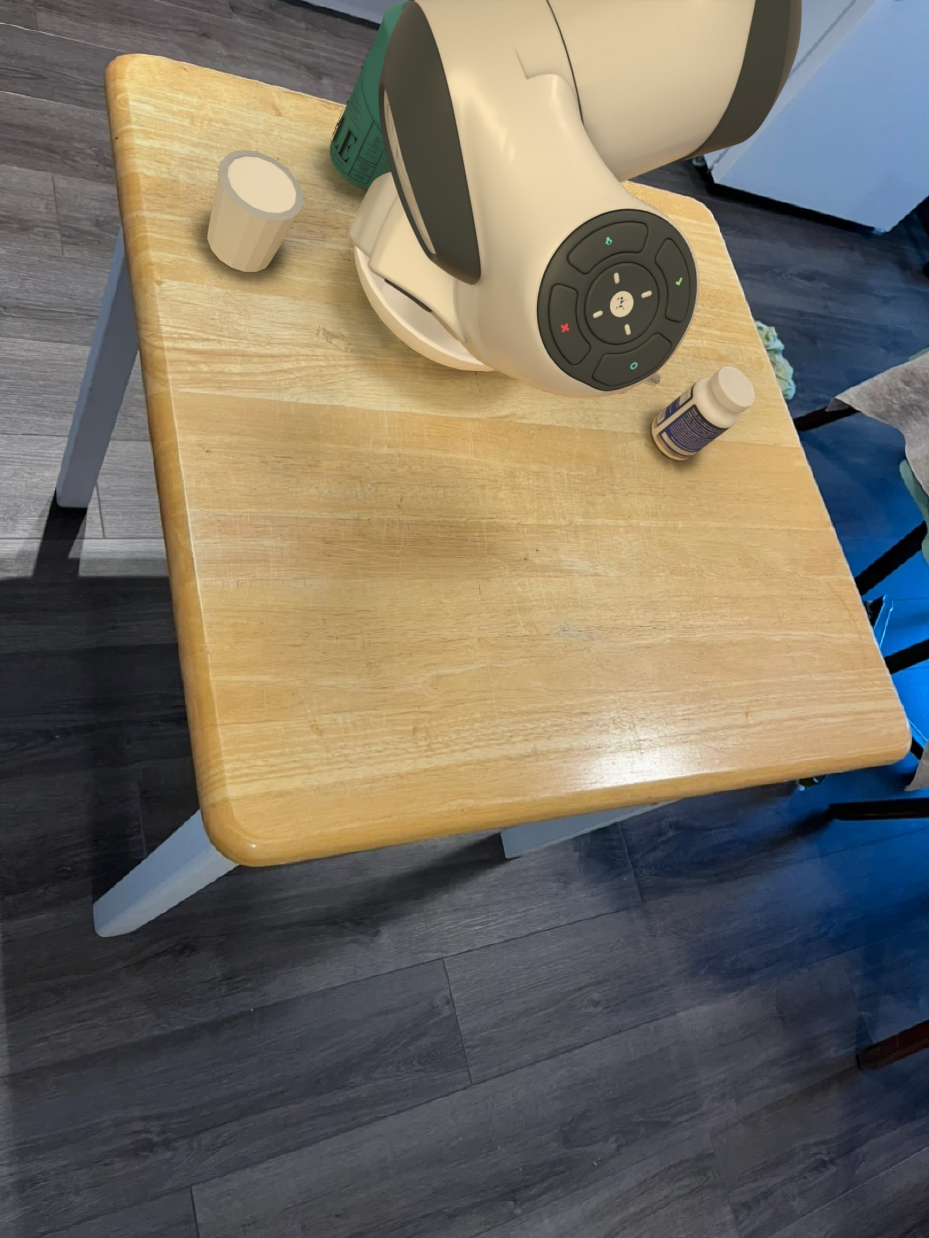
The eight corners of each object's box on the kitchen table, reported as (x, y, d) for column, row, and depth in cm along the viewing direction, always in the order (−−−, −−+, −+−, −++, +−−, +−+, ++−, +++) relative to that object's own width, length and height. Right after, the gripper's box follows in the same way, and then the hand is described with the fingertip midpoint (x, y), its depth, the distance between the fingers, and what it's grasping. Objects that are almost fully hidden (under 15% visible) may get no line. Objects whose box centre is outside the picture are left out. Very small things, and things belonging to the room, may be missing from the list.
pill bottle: (698, 462, 94) (767, 412, 86) (659, 462, 91) (726, 410, 83) (681, 416, 96) (748, 362, 87) (642, 414, 93) (707, 358, 84)
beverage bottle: (397, 193, 87) (496, 8, 70) (351, 211, 83) (444, 21, 67) (354, 141, 87) (444, -57, 70) (306, 157, 83) (389, -48, 66)
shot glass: (294, 255, 78) (320, 197, 72) (246, 291, 74) (270, 233, 68) (234, 200, 77) (255, 136, 71) (182, 233, 73) (200, 169, 67)
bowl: (290, 319, 75) (316, 265, 70) (378, 197, 85) (407, 141, 80) (477, 447, 80) (515, 406, 75) (539, 317, 90) (577, 272, 85)
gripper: (698, 337, 52) (620, 326, 65) (396, 139, 46) (375, 169, 59) (642, 432, 54) (576, 402, 67) (342, 252, 47) (332, 257, 60)
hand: (480, 292), depth 63 cm, fingers open, 8 cm apart
